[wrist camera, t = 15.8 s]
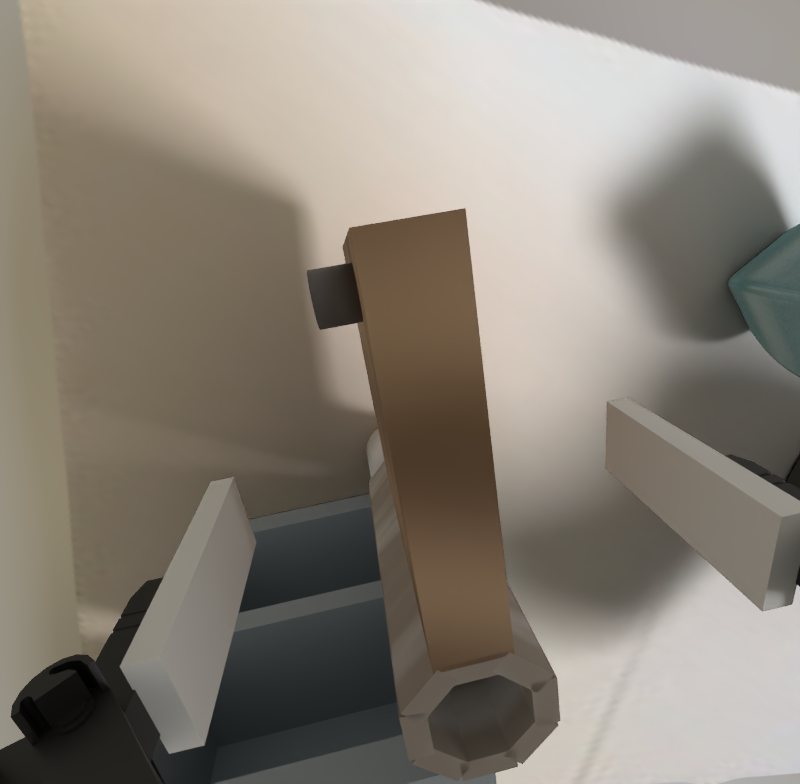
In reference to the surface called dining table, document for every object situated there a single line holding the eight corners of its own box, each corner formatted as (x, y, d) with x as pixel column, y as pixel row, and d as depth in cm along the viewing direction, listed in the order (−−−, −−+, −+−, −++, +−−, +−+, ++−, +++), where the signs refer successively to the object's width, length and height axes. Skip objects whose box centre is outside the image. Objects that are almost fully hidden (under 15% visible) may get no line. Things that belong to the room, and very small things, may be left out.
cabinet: (423, 414, 31) (532, 645, 14) (448, 581, 37) (546, 883, 20) (163, 467, 29) (-55, 791, 13) (232, 631, 35) (144, 1000, 19)
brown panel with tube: (454, 514, 27) (562, 754, 14) (378, 531, 27) (416, 794, 14) (412, 234, 22) (521, 199, 9) (318, 250, 22) (289, 237, 9)
